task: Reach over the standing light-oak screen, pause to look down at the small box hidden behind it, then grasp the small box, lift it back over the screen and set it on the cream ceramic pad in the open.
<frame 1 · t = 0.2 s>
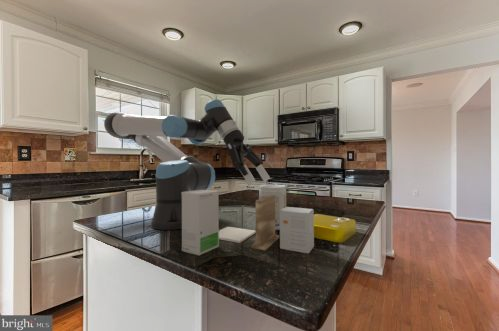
hand: (260, 181, 87), 16 cm above the countertop, tool tilted 35°, fingers open, 13 cm apart
supplement tub: (272, 227, 85), on the countertop
cream pad: (233, 234, 76), on the countertop
skincare box: (200, 249, 65), on the countertop
oak screen: (266, 242, 69), on the countertop
small box: (296, 248, 65), on the countertop
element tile: (326, 234, 79), on the countertop
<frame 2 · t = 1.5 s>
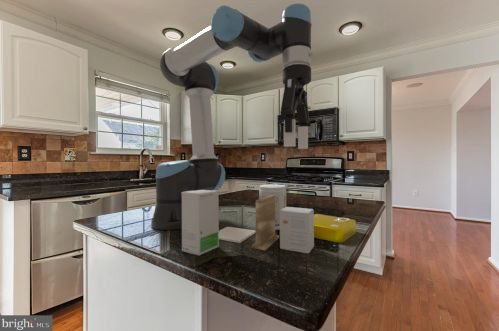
hand: (297, 147, 65), 27 cm above the countertop, tool pointing down, fingers open, 13 cm apart
nothing on the countertop moved.
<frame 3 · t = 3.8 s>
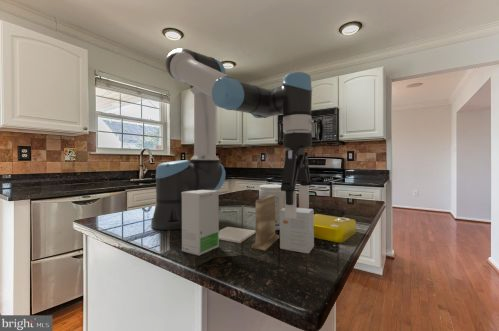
hand: (297, 212, 65), 10 cm above the countertop, tool pointing down, fingers open, 13 cm apart
nothing on the countertop moved.
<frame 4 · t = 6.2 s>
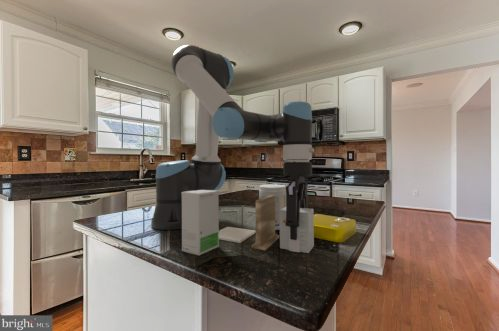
hand: (297, 246, 65), 0 cm above the countertop, tool pointing down, fingers closed on small box, 6 cm apart
small box: (296, 248, 65), on the countertop, touching gripper
everything else where it was.
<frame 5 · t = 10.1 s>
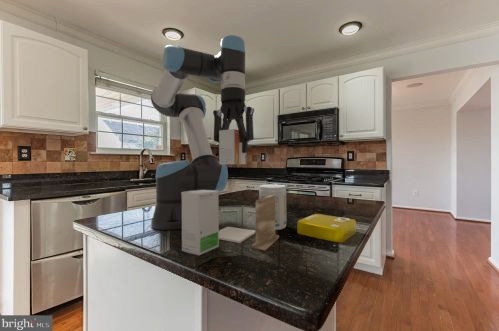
hand: (233, 163, 76), 23 cm above the countertop, tool pointing down, fingers closed on small box, 6 cm apart
small box: (233, 165, 76), point 22 cm above the countertop, touching gripper
everything else where it was.
when the fingers open (2 cm above the countertop, at t = 13.8 s): small box stays where it is, resting on cream pad.
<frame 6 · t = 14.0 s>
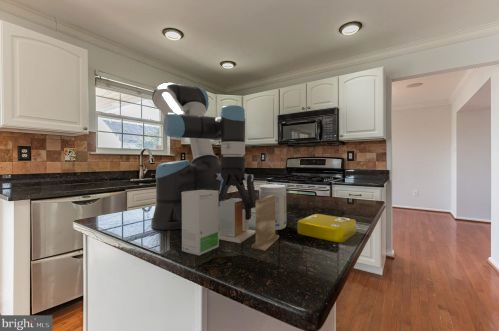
hand: (233, 227, 76), 2 cm above the countertop, tool pointing down, fingers open, 8 cm apart
small box: (233, 233, 76), resting on cream pad
everything else where it was.
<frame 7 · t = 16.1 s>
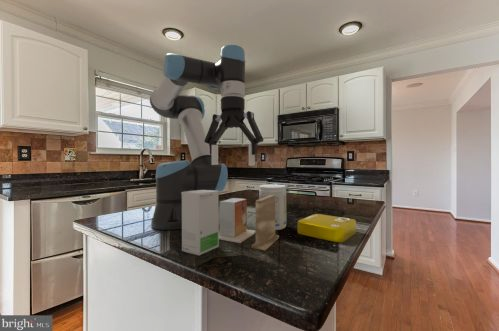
hand: (232, 165, 77), 22 cm above the countertop, tool pointing down, fingers open, 13 cm apart
nothing on the countertop moved.
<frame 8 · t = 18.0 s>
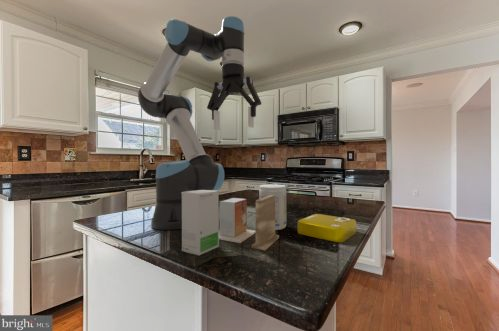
hand: (233, 128, 83), 35 cm above the countertop, tool pointing down, fingers open, 13 cm apart
nothing on the countertop moved.
at the end: small box inside the target area on the cream pad (0.3 cm from its centre), point 0.4 cm above the cream pad's base; small box tilted 0°; the gripper is holding nothing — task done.
